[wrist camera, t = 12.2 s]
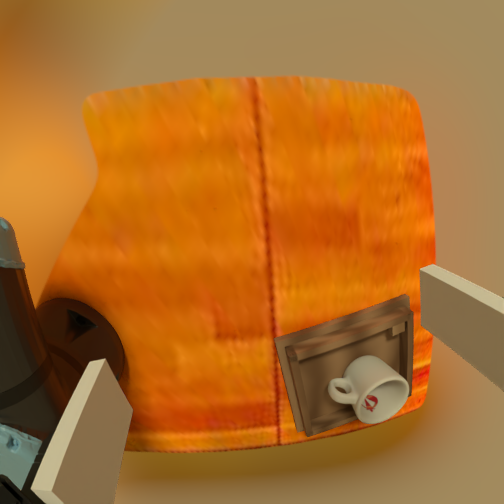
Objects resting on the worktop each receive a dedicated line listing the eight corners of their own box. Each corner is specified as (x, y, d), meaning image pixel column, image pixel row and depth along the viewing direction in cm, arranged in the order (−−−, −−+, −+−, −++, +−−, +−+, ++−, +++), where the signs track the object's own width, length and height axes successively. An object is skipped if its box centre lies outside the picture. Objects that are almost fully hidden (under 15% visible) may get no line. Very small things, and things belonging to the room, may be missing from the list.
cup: (312, 394, 44) (329, 429, 36) (325, 348, 42) (347, 381, 34) (374, 390, 46) (397, 420, 38) (390, 347, 44) (418, 375, 36)
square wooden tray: (296, 427, 47) (301, 442, 43) (273, 338, 42) (279, 352, 38) (405, 385, 48) (415, 397, 44) (404, 293, 43) (418, 303, 40)
